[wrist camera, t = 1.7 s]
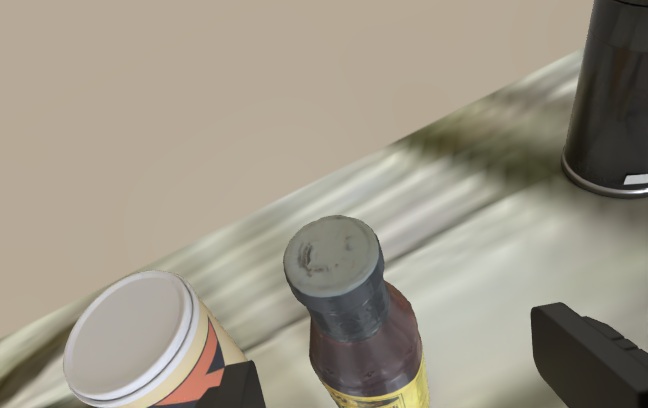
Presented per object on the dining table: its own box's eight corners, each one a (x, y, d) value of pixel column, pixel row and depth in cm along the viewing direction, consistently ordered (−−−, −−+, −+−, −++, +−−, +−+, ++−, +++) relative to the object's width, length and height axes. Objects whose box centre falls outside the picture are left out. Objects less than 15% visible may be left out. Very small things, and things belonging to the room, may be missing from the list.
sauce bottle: (334, 421, 30) (213, 284, 16) (371, 348, 33) (296, 179, 19) (415, 472, 27) (349, 352, 13) (448, 385, 30) (424, 212, 16)
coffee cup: (200, 478, 30) (93, 437, 22) (141, 402, 36) (38, 346, 27) (282, 372, 34) (217, 303, 26) (217, 319, 39) (146, 247, 31)
